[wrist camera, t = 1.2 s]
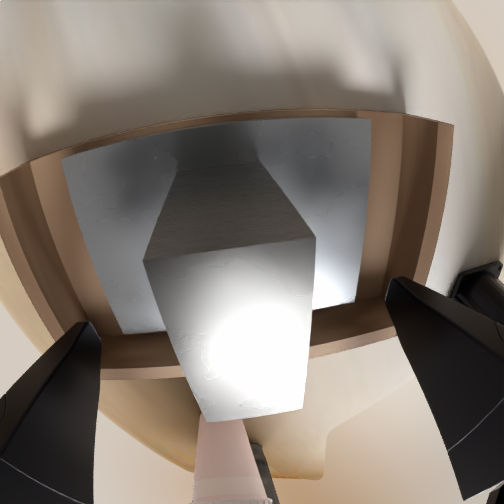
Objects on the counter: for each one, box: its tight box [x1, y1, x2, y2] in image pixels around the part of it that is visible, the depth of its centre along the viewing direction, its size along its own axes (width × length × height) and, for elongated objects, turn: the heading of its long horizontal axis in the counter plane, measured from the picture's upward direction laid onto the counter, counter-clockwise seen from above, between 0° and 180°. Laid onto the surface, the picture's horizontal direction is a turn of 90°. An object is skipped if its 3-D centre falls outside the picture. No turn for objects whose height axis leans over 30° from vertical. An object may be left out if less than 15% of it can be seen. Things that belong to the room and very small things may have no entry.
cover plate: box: [61, 116, 371, 422], centre depth 9 cm, size 12×9×7 cm
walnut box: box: [0, 109, 454, 380], centre depth 12 cm, size 19×12×4 cm, turn 94°
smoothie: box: [190, 413, 272, 504], centre depth 17 cm, size 6×6×14 cm
